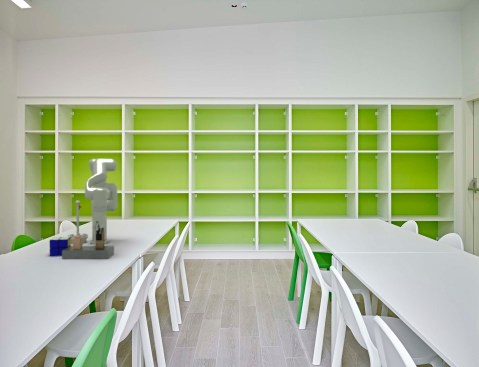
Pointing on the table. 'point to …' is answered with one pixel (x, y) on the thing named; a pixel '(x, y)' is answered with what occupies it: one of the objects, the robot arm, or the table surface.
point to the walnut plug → (101, 241)
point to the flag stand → (78, 227)
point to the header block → (88, 252)
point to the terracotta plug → (77, 242)
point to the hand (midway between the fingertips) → (100, 239)
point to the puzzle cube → (59, 245)
